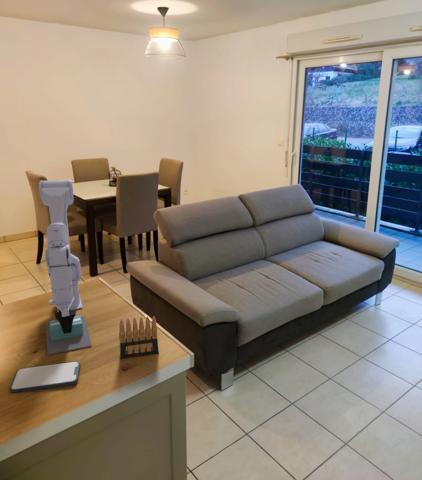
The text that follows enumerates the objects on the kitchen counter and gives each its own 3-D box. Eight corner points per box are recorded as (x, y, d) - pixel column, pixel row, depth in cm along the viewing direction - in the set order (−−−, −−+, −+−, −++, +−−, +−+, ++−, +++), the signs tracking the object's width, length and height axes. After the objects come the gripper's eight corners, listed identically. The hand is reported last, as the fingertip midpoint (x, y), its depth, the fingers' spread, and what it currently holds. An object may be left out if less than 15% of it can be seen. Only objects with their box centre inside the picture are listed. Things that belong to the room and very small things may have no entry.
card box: (81, 326, 122) (80, 315, 121) (83, 334, 118) (82, 322, 116) (50, 332, 119) (49, 320, 117) (51, 341, 114) (50, 328, 113)
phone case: (9, 396, 94) (77, 386, 97) (7, 391, 94) (77, 381, 97) (18, 373, 102) (81, 365, 105) (17, 368, 102) (80, 360, 105)
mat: (45, 324, 124) (45, 322, 124) (84, 316, 129) (84, 315, 128) (47, 355, 108) (47, 354, 108) (91, 346, 113) (91, 345, 113)
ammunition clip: (157, 350, 112) (156, 313, 108) (158, 353, 110) (157, 316, 106) (120, 355, 109) (117, 318, 105) (120, 359, 108) (117, 321, 104)
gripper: (46, 278, 118) (51, 317, 122) (47, 298, 105) (53, 341, 110) (70, 274, 120) (74, 313, 125) (75, 294, 108) (79, 336, 112)
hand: (66, 326), depth 117 cm, fingers open, 7 cm apart
